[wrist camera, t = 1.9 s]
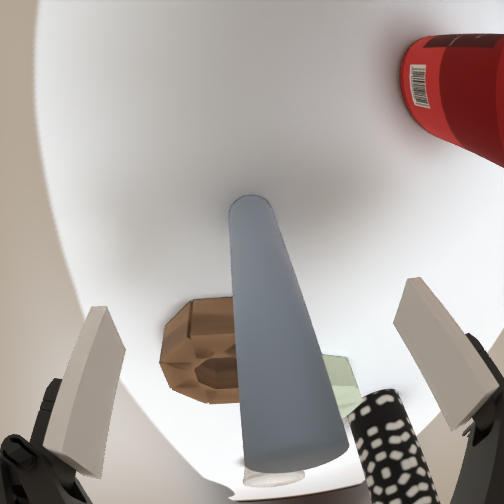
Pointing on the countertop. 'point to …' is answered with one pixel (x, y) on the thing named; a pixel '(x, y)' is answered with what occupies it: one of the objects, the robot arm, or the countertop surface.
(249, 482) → the ramekin
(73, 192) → the countertop surface
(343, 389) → the sage bead
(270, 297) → the dowel
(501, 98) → the canned food
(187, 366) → the walnut bead
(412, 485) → the spotted tube
